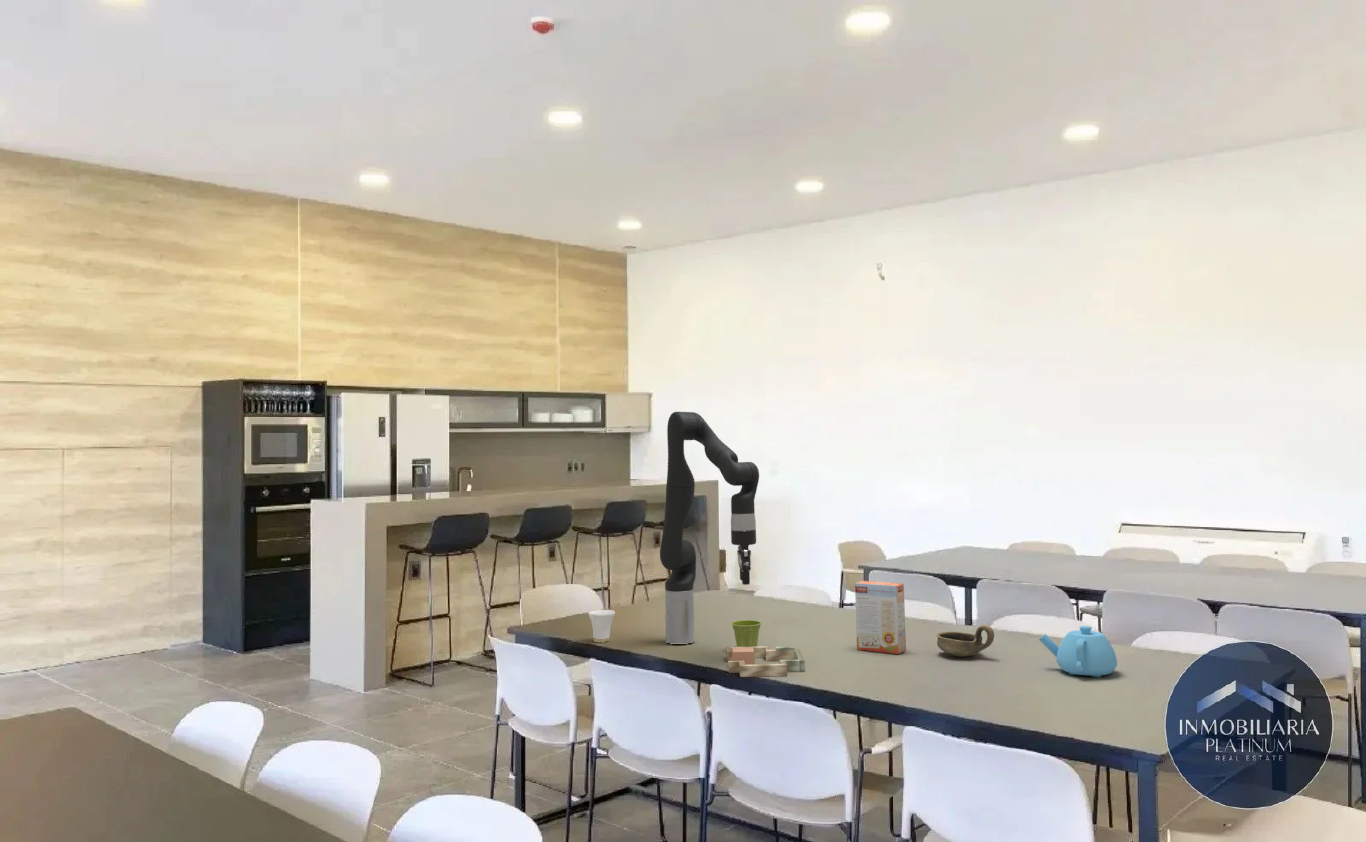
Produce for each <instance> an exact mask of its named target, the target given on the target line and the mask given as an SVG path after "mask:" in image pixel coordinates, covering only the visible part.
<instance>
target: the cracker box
mask: <svg viewBox="0 0 1366 842" xmlns="http://www.w3.org/2000/svg"><path fill="white" fill-rule="evenodd" d="M854 591H855V592H854V593H855V595H854V596H855V625H856V626H855V630H856V633H855V634H856V650H858V651H864V650H865V651H867V652H874V653H875V652H876V653H883V654H889V655H890V654H892V655H899V654H902V653H904V652H906V651H907V647H906V646H907V643H906V640H907V639H906V638H907V635H906V610H905V609H906V608H905V606H906V605H905V584H904V583H903V582H900V583H899V582H888V581H873V580H871V581H870V580H861V581H857V582H855V583H854Z"/></svg>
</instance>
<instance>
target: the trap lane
mask: <svg viewBox="0 0 1366 842" xmlns="http://www.w3.org/2000/svg"><path fill="white" fill-rule="evenodd" d="M732 648H738V647H737V646H726V661H728V662H727V663H728V673H729V674H733V673H734V674H735V673H737V674H738V673H739V677H740V678H750V677H751V678H753V677H756V678H757V677H758V678H759V677H787V676H788V673H790V672H806V661H805V657H804V656H803V653H802V652H801V650H800V649H799V648H797V649H796V648H795V646H775V649H771V646H765V645H762V646H760V645H759V646H758V645H757V646H756V647H753V649H754V659H755V658H758V659H759V658H765V662H779V663H768V664H767V663H766V664H762V663H761V664H756V663H754V665H745V662H744V661H733V652H732Z"/></svg>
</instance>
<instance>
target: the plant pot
mask: <svg viewBox="0 0 1366 842" xmlns="http://www.w3.org/2000/svg"><path fill="white" fill-rule="evenodd" d="M730 624H731V626H732V629H733V632H734V639H735V642H736V643H735V645H736V647H756V646H758V642H759V634H760V633H759V631H760V629H761V625H762V621H759V620H755V619H752V620H751V619H742V620H736V621H731V623H730Z"/></svg>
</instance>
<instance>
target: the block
mask: <svg viewBox="0 0 1366 842" xmlns="http://www.w3.org/2000/svg"><path fill="white" fill-rule="evenodd" d="M732 652H733V658H732V660H733V661H744V662H745V665H755V658H754V649H753V647H738V648H732Z"/></svg>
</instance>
